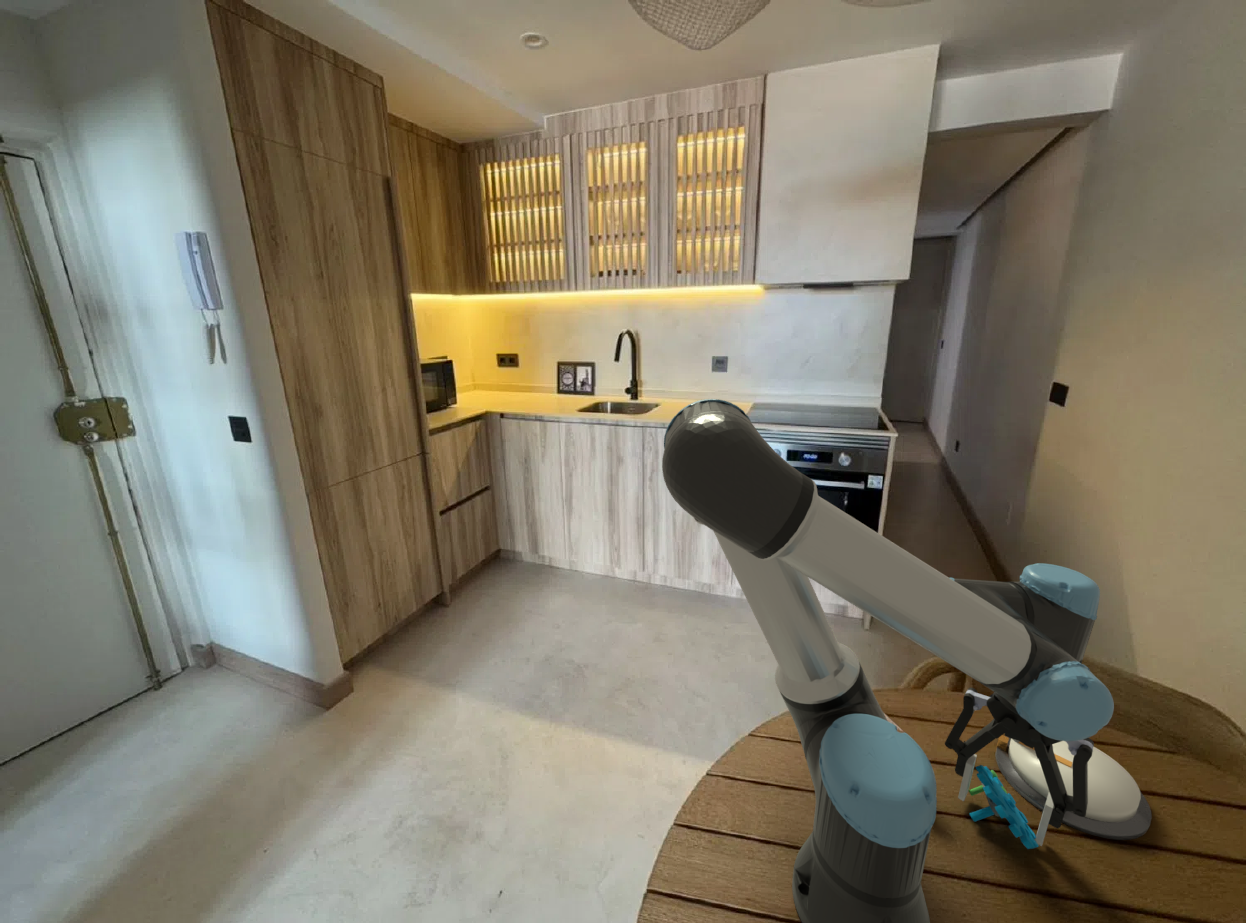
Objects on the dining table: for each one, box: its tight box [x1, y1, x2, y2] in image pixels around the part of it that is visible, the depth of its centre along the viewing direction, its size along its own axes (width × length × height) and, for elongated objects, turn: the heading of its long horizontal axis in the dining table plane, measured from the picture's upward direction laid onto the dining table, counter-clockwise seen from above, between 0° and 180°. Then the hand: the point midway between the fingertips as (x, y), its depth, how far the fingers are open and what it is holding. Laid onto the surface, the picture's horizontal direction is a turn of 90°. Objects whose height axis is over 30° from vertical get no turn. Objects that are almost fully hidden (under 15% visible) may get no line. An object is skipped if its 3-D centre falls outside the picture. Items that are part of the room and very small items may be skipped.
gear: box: [968, 764, 1040, 850], centre depth 70 cm, size 11×6×10 cm
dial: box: [1008, 739, 1142, 822], centre depth 76 cm, size 15×15×6 cm
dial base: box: [995, 734, 1153, 841], centre depth 77 cm, size 18×18×2 cm
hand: (999, 814), depth 71 cm, fingers closed on gear, 8 cm apart
